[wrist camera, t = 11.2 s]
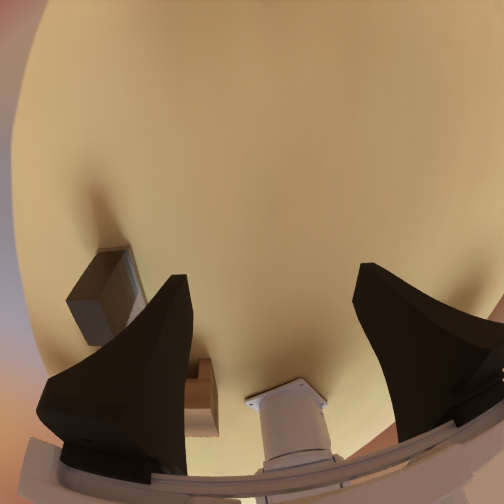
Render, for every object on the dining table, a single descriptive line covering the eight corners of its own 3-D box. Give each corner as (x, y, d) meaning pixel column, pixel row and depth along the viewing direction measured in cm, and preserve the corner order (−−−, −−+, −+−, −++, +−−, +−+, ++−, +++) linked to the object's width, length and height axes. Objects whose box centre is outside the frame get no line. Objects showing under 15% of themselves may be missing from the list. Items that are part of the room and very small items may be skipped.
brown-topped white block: (99, 247, 20) (62, 300, 14) (131, 244, 20) (101, 300, 14) (146, 367, 27) (136, 419, 22) (171, 367, 28) (165, 421, 22)
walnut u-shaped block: (105, 356, 26) (91, 400, 21) (211, 358, 27) (210, 408, 22) (128, 396, 30) (121, 434, 25) (219, 398, 31) (220, 440, 26)
